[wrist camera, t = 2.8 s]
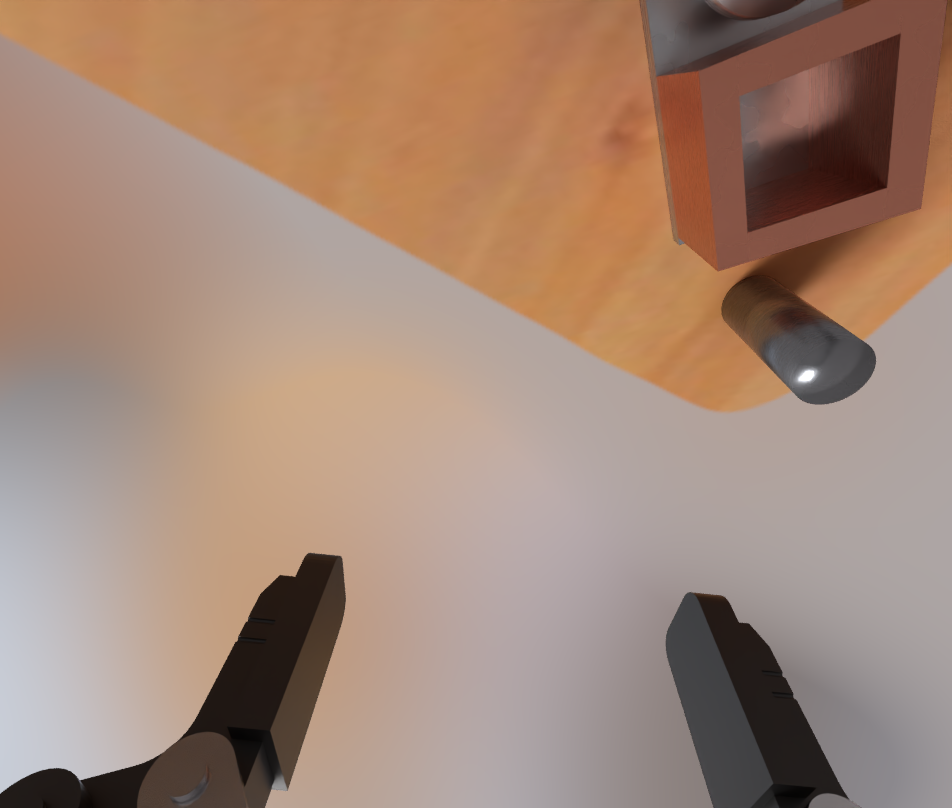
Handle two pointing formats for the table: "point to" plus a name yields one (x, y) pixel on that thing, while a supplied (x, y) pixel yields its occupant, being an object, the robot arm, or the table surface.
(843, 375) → the pin
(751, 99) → the grey and brown stand
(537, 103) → the table surface
